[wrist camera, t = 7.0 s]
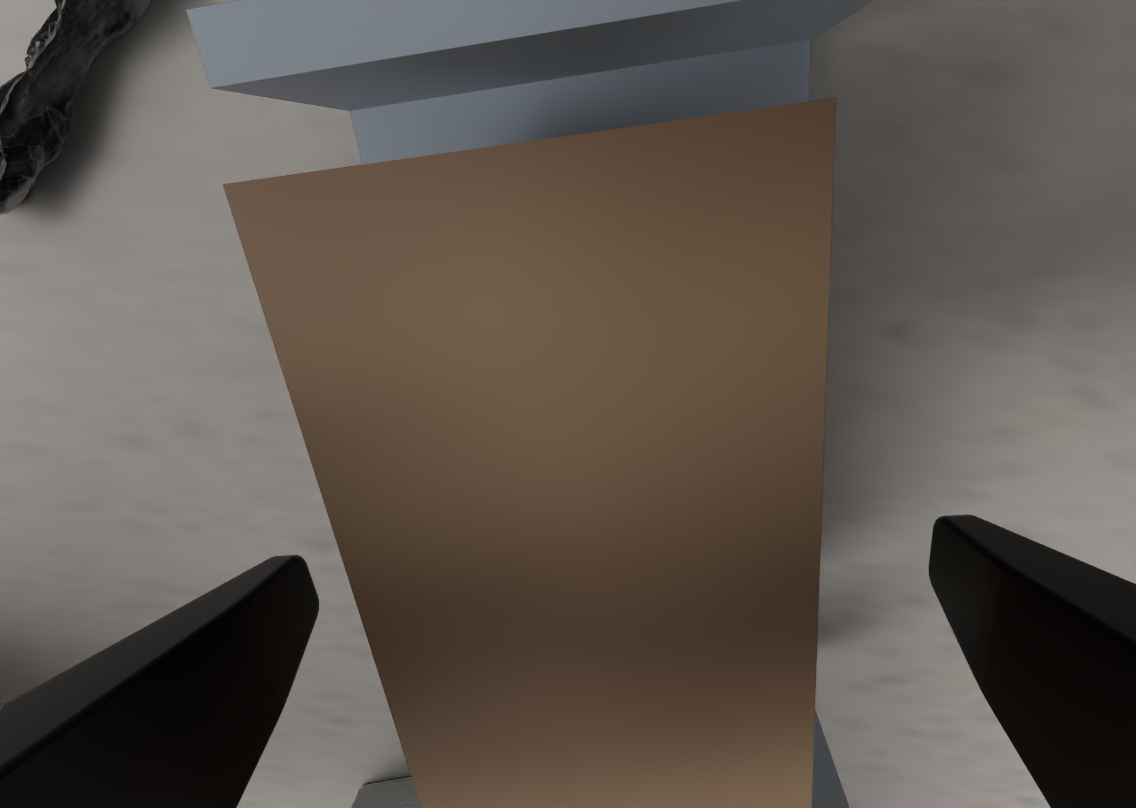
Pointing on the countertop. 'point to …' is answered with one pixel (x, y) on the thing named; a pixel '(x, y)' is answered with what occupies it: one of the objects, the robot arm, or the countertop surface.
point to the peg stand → (519, 80)
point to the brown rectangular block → (573, 448)
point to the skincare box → (388, 795)
